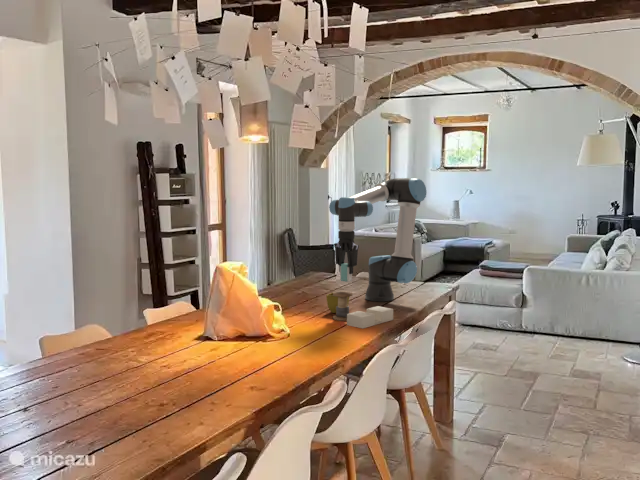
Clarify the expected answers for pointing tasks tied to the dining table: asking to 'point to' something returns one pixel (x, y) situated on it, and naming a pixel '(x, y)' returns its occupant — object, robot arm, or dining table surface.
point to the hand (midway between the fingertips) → (346, 280)
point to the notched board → (370, 317)
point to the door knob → (342, 305)
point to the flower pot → (333, 302)
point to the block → (344, 272)
